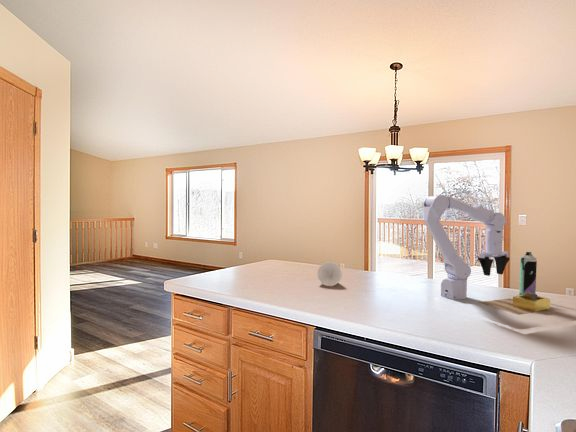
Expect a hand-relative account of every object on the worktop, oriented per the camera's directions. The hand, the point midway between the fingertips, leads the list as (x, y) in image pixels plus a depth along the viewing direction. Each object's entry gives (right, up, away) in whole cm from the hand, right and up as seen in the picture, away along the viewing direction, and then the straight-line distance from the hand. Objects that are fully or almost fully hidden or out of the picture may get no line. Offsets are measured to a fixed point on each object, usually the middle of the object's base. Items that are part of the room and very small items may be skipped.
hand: (493, 274), depth 141 cm
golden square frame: (+5, -9, -15) cm, 18 cm away
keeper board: (0, -11, -12) cm, 16 cm away
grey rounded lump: (-62, -9, +29) cm, 69 cm away
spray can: (+14, -11, +1) cm, 18 cm away
